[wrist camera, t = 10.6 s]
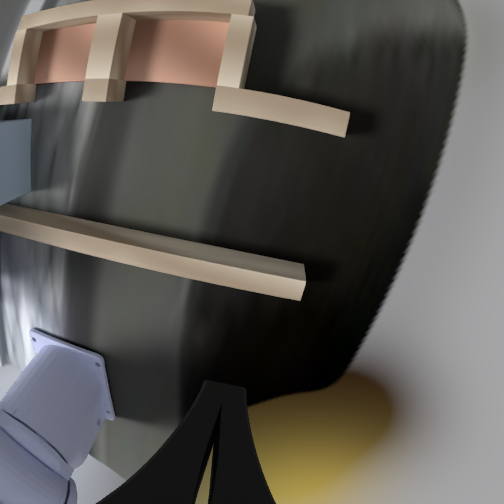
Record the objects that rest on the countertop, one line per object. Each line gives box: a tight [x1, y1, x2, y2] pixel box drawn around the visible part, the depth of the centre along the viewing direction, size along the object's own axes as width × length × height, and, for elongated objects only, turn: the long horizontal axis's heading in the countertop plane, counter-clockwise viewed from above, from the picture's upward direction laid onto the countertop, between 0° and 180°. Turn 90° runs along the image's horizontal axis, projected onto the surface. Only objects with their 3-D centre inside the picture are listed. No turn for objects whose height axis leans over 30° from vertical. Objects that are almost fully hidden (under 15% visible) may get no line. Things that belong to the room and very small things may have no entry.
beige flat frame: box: [0, 0, 350, 301], centre depth 14 cm, size 14×25×3 cm, turn 80°
